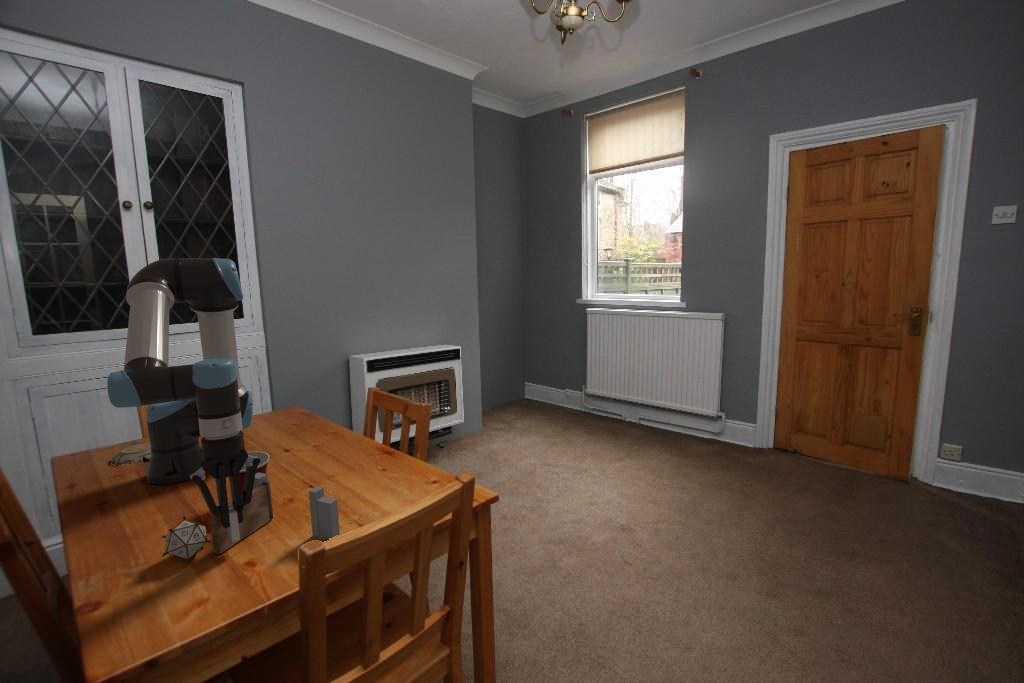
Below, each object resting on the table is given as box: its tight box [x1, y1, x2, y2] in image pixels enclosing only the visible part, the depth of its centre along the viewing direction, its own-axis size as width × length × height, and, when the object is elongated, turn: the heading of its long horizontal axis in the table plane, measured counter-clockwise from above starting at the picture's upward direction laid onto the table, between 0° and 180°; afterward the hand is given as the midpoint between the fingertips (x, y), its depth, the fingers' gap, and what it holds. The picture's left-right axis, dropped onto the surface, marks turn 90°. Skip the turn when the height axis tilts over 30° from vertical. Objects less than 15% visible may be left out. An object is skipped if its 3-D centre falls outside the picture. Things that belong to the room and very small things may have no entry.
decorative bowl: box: [109, 442, 151, 465], centre depth 152 cm, size 15×4×15 cm
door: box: [209, 480, 274, 555], centre depth 106 cm, size 15×3×9 cm, turn 163°
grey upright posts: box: [253, 473, 341, 540], centre depth 109 cm, size 25×2×11 cm, turn 66°
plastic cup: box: [227, 450, 271, 496], centre depth 121 cm, size 11×11×12 cm
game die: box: [161, 515, 212, 564], centre depth 98 cm, size 9×8×10 cm
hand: (234, 538), depth 100 cm, fingers closed
